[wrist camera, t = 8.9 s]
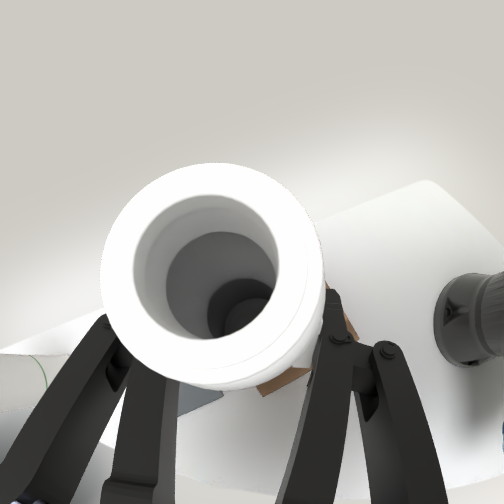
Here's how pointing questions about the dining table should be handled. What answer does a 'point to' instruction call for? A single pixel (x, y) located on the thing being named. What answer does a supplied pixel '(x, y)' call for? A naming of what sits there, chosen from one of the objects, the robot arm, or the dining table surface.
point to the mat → (194, 397)
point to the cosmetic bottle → (214, 277)
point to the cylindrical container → (26, 378)
